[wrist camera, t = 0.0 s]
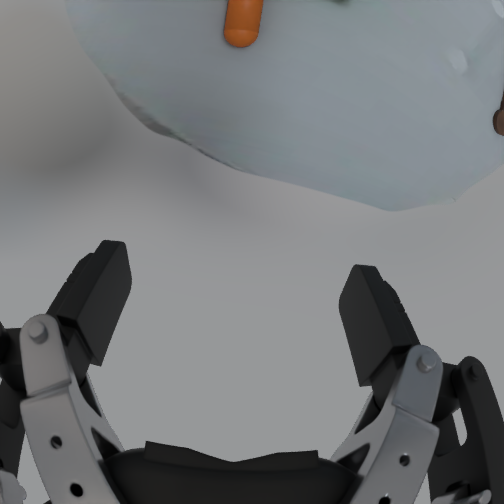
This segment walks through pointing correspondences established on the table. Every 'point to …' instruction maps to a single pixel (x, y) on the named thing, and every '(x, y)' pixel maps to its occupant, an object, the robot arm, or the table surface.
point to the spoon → (499, 119)
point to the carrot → (242, 22)
